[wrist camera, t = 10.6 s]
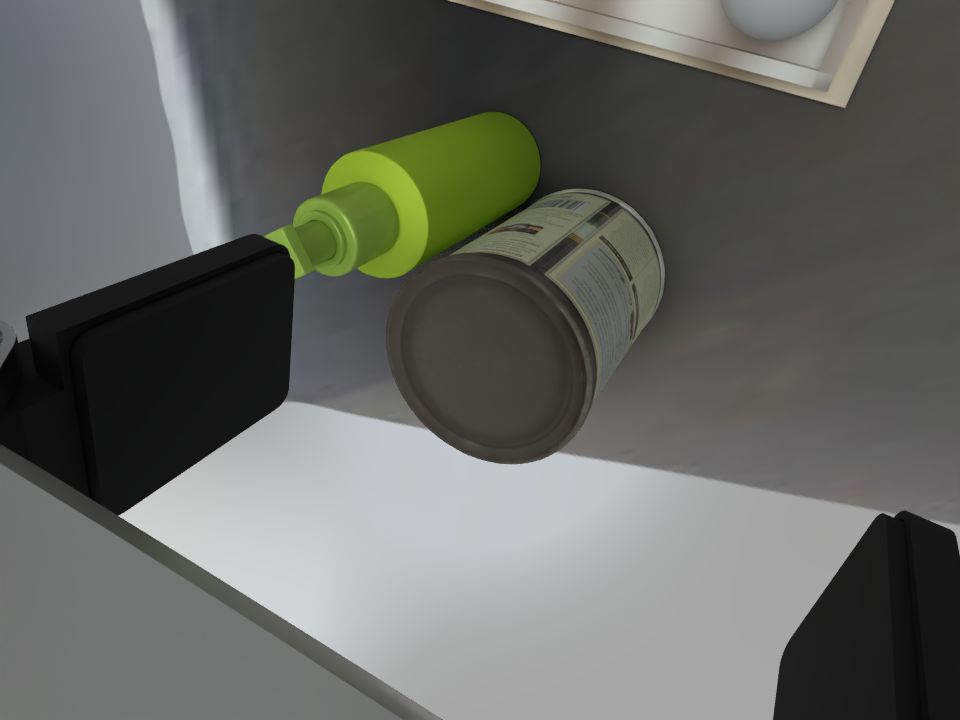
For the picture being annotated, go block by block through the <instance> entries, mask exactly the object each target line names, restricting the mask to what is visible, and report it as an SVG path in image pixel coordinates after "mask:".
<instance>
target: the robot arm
mask: <svg viewBox="0 0 960 720" xmlns="http://www.w3.org/2000/svg"><path fill="white" fill-rule="evenodd" d="M294 281H295V263H294V261H293V260H292V259H291V258H290V253H289V251H288V249H287V248H286V247H285V246H284V245H281V244H279V243H277V242H274V241H272V240H270V239H267V238H265V237H263V236H260V235H257V234H250V235H247V236H244V237H242V238H239V239H236V240H233V241H231V242H228V243H225V244H222V245H220V246H217V247H214V248H211V249H209V250H206V251H203V252H200V253H198V254H195V255H192V256H190V257H187V258H184V259H181V260H179V261H176V262H173V263H170V264H168V265H165V266H162V267H159V268H157V269H154V270H151V271H149V272H146V273H143V274H141V275H138V276H135V277H132V278H129V279H127V280H124V281H122V282H118V283H116V284H113V285H110V286H107V287H105V288H102V289H99V290H97V291H94V292H91V293H89V294H85V295H83V296H80V297H77V298H75V299H72V300H69V301H66V302H64V303H61V304H58V305H55V306H53V307H50V308H47V309H44V310H42V311H39V312H36V313H33V314H31V315H28V316H26V322H27V327H28V332H29V338H30V339H27V340H25V341H22V342H20V343H18V340H17V336H16V333H15V331H14V329H13V327H12V326H10V325H9V324H7V323H6V322H4V321H2V320H0V720H442V719H441V718H439V717H438V716H436V715H434V714H433V713H431V712H430V711H428V710H427V709H425V708H424V707H422V706H420V705H419V704H417V703H416V702H414V701H412V700H411V699H409V698H408V697H406V696H405V695H403V694H401V693H400V692H398V691H397V690H395V689H393V688H392V687H390V686H389V685H387V684H386V683H384V682H383V681H381V680H379V679H378V678H376V677H375V676H373V675H372V674H370V673H368V672H367V671H365V670H364V669H362V668H360V667H359V666H357V665H356V664H354V663H352V662H351V661H349V660H348V659H346V658H344V657H343V656H341V655H340V654H338V653H337V652H335V651H333V650H332V649H330V648H329V647H327V646H325V645H324V644H322V643H321V642H319V641H317V640H316V639H314V638H312V637H311V636H309V635H308V634H306V633H305V632H303V631H302V630H300V629H298V628H297V627H295V626H294V625H292V624H290V623H288V622H287V621H286V620H284V619H282V618H281V617H279V616H278V615H276V614H274V613H273V612H271V611H270V610H268V609H266V608H265V607H263V606H261V605H260V604H258V603H257V602H255V601H254V600H252V599H251V598H249V597H247V596H246V595H244V594H243V593H241V592H239V591H238V590H236V589H235V588H233V587H231V586H230V585H228V584H226V583H225V582H223V581H222V580H220V579H218V578H217V577H215V576H214V575H212V574H210V573H209V572H207V571H206V570H204V569H202V568H201V567H199V566H198V565H196V564H195V563H193V562H191V561H190V560H188V559H187V558H185V557H183V556H182V555H180V554H179V553H177V552H175V551H174V550H172V549H171V548H169V547H167V546H166V545H164V544H163V543H161V542H159V541H158V540H156V539H154V538H153V537H151V536H150V535H148V534H146V533H145V532H143V531H141V530H140V529H138V528H137V527H135V526H133V525H132V524H130V523H128V522H127V521H125V520H124V519H122V518H120V517H119V516H118V515H120V514H122V513H124V512H125V511H127V510H128V509H130V508H131V507H133V506H134V505H136V504H137V503H139V502H140V501H142V500H143V499H145V498H146V497H147V496H149V495H150V494H152V493H153V492H155V491H156V490H158V489H159V488H161V487H162V486H164V485H165V484H167V483H168V482H170V481H171V480H172V479H174V478H175V477H177V476H178V475H180V474H181V473H183V472H184V471H186V470H187V469H189V468H190V467H191V466H193V465H194V464H196V463H197V462H199V461H200V460H202V459H203V458H205V457H206V456H208V455H209V454H211V453H212V452H213V451H215V450H216V449H218V448H219V447H221V446H222V445H224V444H225V443H227V442H228V441H230V440H231V439H232V438H234V437H236V436H237V435H238V434H240V433H241V432H243V431H244V430H246V429H247V428H249V427H250V426H252V425H253V424H255V423H256V422H258V421H259V420H260V419H262V418H263V417H265V416H266V415H268V414H269V413H271V412H272V411H274V410H275V409H276V408H278V407H279V406H280V405H281V404H282V403H283V402H284V400H285V398H286V396H287V394H288V390H289V376H290V357H291V338H292V319H293V300H294ZM773 720H960V555H959V549H958V545H957V539H956V536H955V533H954V532H953V531H952V530H950V529H947V528H945V527H943V526H940V525H938V524H936V523H933V522H931V521H929V520H926V519H924V518H922V517H919V516H917V515H915V514H912V513H910V512H908V511H901V512H899V513H898V514H897V515H896V516H895V517H894V518H893V517H891V516H888V515H886V514H884V513H882V514H880V515H878V516H877V517H876V518H875V519H874V521H873V522H872V524H871V525H870V526H869V528H868V529H867V531H866V532H865V534H864V535H863V536H862V538H861V539H860V541H859V542H858V543H857V545H856V546H855V548H854V549H853V550H852V552H851V553H850V555H849V556H848V558H847V559H846V561H845V562H844V563H843V565H842V566H841V568H840V569H839V570H838V572H837V573H836V575H835V576H834V577H833V579H832V580H831V582H830V583H829V585H828V586H827V587H826V589H825V590H824V592H823V593H822V595H821V596H820V597H819V599H818V600H817V602H816V603H815V604H814V606H813V607H812V609H811V610H810V612H809V613H808V614H807V616H806V617H805V619H804V620H803V622H802V623H801V624H800V626H799V627H798V629H797V630H796V632H795V633H794V634H793V636H792V637H791V639H790V640H789V642H788V644H787V646H786V648H785V650H784V653H783V655H782V659H781V662H780V668H779V676H778V684H777V692H776V700H775V708H774V717H773Z"/></svg>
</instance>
